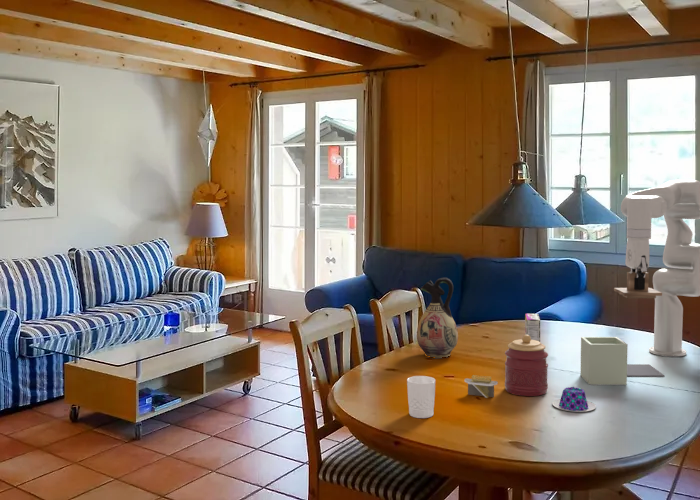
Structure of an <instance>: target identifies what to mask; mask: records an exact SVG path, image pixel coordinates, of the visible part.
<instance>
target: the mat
mask: <svg viewBox="0 0 700 500" xmlns="http://www.w3.org/2000/svg"><path fill="white" fill-rule="evenodd" d="M628 377H631V378H633V377H638V378H639V377H643V378H645V377H647V378H648V377H649V378H650V377H651V378H655V377H657V378H661V377H662V378H664V377H665V374H663V373H662V372H660V371H659V370H658V369H657V368H655V367H654V366H652V365H651V364H645V363H643V364H640V363H639V364H638V363H637V364H636V363H635V364H630V363H629V364H628V363H627V378H628Z"/></svg>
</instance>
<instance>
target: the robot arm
mask: <svg viewBox="0 0 700 500" xmlns="http://www.w3.org/2000/svg"><path fill="white" fill-rule="evenodd" d="M620 212H621V213H622V215H623V216H625V217H626V239H627V241H626V251H625V262H624V263H625V265H626V267H628V268H629V269H630V272H636V278H635V280H634V289H635V290H644V289H645V273H646V272H647V271H648V268H649V267H650V239H651V238H652V219H659V218H662V217H664V221H665V224H666V229H667V236H666V241H665V245H664V249H663V253H662V264H664V266H666V267H668V268H661V269H660V268H659V269H658V270H656V271H655V272H654V273H653V276H652V285H653V289H654V290H657V291H659V292H661V293H662V296H656V298H654V325H653V326H654V329H653V332H654V333H653V346H650V347H649V348H648V351H649V352H650V354H654V355H656V356H661V357H677V358H678V357H683V356H684V357H685V356H687V351H686V349H684V348H683V346H682V345H683V325H684V324H683V322H684V321H683V320H684V319H683V317H684V306H683V304H682V302H681V300H680V299H679V297H678V296H681V297H682V296H684V297H692V298H693V297H700V243H692V240H693V231H692V229H691V227H689V225H688V224H687V223H686V222H685V221H684V220H700V180H696V179H675V180H668V181H666V182H664V183H662V184H660V185H659V186H657V187H651V188H647V189H643V190H638V191H635V192H634V191H633V192H632V193H628V194H626V196H625V197H624V198H623V199H622V201H621V204H620ZM638 272H639V273H638ZM647 273H648V272H647Z"/></svg>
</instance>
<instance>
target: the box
mask: <svg viewBox="0 0 700 500" xmlns="http://www.w3.org/2000/svg"><path fill="white" fill-rule="evenodd" d="M627 364H628V343H626V342H625V341H624V340H622V339H620V338H619V337H618V336H581V337H580V375H579V376H580V377H582V379H583V380H584V381H585V382H586V383H587V384H588V385H591V386H592V385H597V386H598V385H601V386H602V385H603V386H604V385H605V386H606V385H610V386H611V385H614V386H615V385H618V386H619V385H623V386H627V384H628V382H627V381H628V377H627Z"/></svg>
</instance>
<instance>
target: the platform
mask: <svg viewBox="0 0 700 500" xmlns="http://www.w3.org/2000/svg"><path fill="white" fill-rule="evenodd" d="M464 382H465V383H466V384H467V395H468V396H469V395H471V396H479V397H480V396H481V397H484V398H486V399H488V398H489V397H490V398H491V397H492V398H494V397H495V386H497V385H498V381H497V380H492V376H484V375H476V374H475V375H474V374H473V375H472V376H471V378H468V377H467V378H464Z"/></svg>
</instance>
